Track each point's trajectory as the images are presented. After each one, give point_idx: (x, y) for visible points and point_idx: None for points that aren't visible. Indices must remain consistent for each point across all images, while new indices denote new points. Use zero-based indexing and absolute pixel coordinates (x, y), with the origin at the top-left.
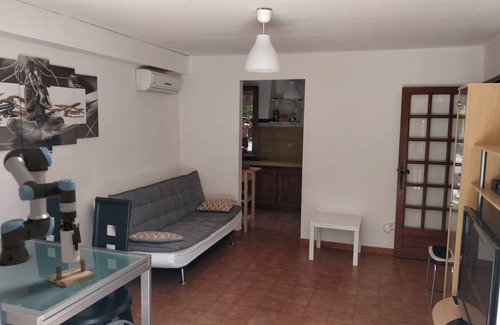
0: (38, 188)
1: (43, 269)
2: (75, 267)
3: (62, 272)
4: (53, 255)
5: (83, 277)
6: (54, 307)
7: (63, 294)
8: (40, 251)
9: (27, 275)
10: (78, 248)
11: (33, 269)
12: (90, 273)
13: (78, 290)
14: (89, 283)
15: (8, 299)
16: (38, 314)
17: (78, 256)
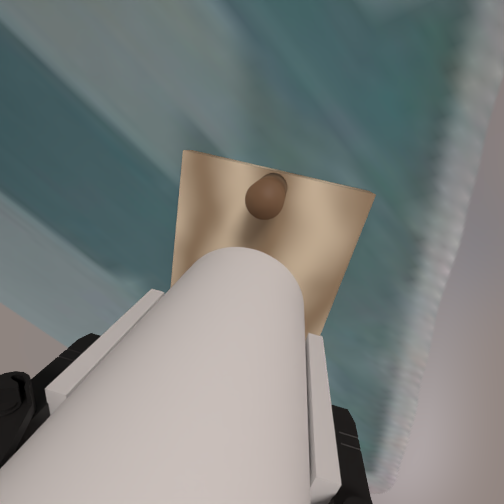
0: None
1: (37, 199)
2: (185, 159)
3: (186, 247)
4: None
5: (345, 268)
6: (395, 457)
7: (352, 384)
8: None
9: (57, 276)
10: (356, 433)
11: (4, 215)
12: (350, 212)
13: (390, 347)
14: (394, 276)
15: None
16: (377, 488)
17: (302, 313)
